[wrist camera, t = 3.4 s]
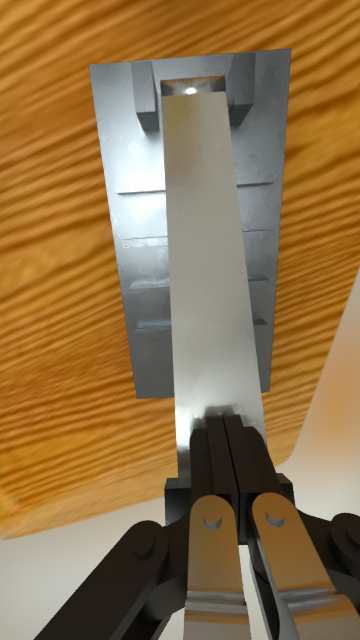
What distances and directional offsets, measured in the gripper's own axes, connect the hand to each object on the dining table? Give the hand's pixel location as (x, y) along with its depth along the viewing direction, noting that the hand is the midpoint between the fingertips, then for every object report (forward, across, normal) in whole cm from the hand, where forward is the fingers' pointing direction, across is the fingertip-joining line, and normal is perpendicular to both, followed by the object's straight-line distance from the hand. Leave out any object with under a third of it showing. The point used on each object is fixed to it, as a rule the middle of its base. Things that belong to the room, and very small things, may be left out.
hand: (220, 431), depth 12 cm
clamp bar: (+6, 0, -6) cm, 9 cm away
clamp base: (+16, 0, -5) cm, 17 cm away
